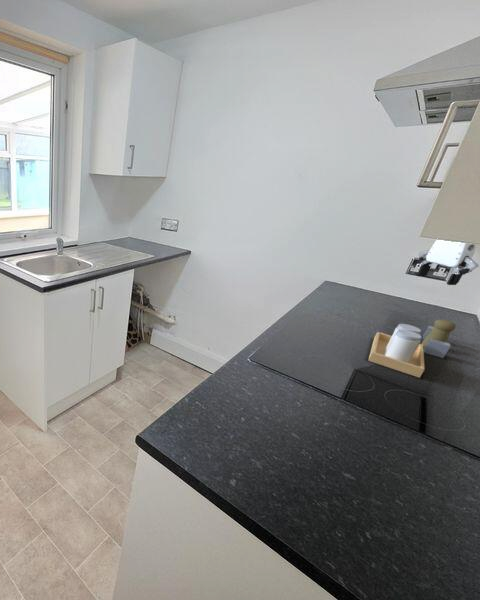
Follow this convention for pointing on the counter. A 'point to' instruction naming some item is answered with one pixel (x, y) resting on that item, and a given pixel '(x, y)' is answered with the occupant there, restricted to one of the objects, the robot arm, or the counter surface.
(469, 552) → the counter surface
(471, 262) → the robot arm
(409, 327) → the cylinder
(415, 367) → the shaker tray
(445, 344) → the grey slab front
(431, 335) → the cork
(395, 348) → the salt shaker
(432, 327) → the grey slab back
